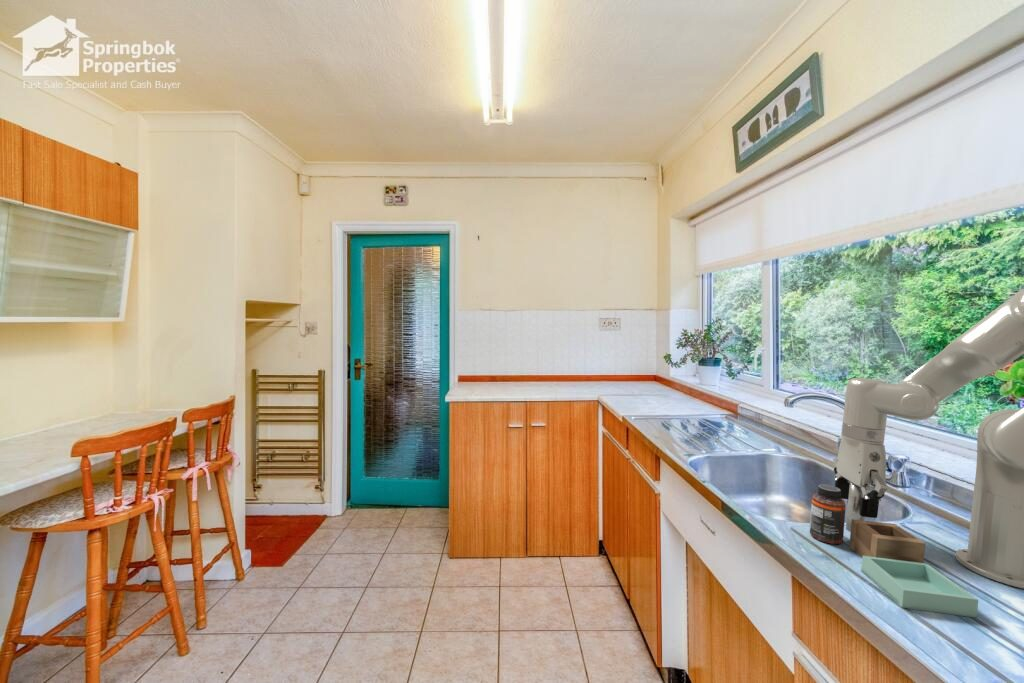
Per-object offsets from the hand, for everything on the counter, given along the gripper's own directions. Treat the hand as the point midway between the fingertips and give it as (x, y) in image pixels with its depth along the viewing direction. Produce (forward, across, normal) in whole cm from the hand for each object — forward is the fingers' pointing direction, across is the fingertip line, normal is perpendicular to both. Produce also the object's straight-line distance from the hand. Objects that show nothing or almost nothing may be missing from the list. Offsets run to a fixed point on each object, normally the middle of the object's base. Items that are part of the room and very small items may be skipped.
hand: (854, 507), depth 99 cm
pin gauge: (+5, 0, 0) cm, 5 cm away
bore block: (+5, -13, +2) cm, 14 cm away
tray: (+5, -24, +4) cm, 25 cm away
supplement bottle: (+6, -6, +9) cm, 12 cm away
